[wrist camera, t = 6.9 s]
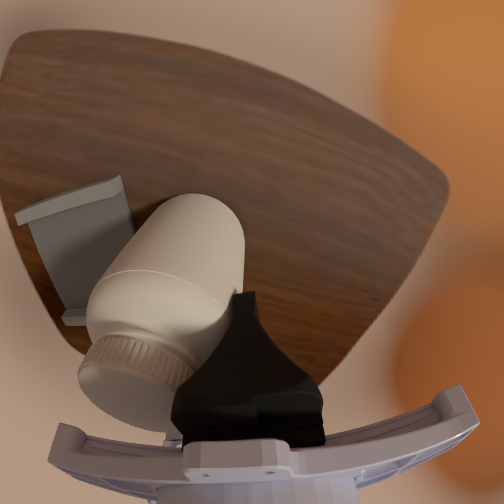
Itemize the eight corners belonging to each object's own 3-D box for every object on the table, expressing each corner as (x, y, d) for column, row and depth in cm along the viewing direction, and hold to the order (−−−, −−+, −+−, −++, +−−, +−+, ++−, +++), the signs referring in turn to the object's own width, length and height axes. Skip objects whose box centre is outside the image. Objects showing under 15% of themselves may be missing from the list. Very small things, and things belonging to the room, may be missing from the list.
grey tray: (162, 307, 25) (158, 321, 24) (73, 314, 26) (66, 325, 24) (120, 174, 19) (110, 180, 18) (26, 206, 19) (14, 213, 18)
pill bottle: (157, 278, 24) (93, 427, 11) (144, 192, 20) (17, 319, 7) (245, 281, 24) (238, 451, 11) (246, 190, 20) (231, 349, 7)
